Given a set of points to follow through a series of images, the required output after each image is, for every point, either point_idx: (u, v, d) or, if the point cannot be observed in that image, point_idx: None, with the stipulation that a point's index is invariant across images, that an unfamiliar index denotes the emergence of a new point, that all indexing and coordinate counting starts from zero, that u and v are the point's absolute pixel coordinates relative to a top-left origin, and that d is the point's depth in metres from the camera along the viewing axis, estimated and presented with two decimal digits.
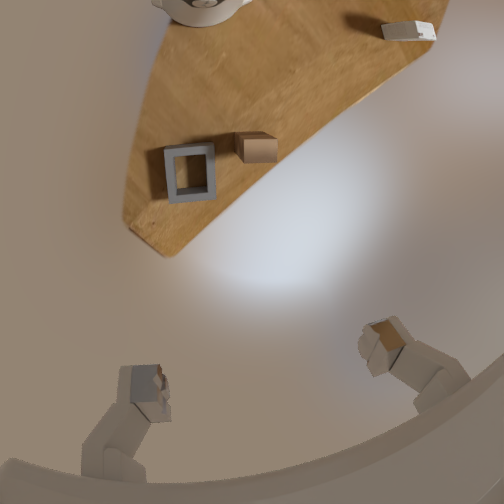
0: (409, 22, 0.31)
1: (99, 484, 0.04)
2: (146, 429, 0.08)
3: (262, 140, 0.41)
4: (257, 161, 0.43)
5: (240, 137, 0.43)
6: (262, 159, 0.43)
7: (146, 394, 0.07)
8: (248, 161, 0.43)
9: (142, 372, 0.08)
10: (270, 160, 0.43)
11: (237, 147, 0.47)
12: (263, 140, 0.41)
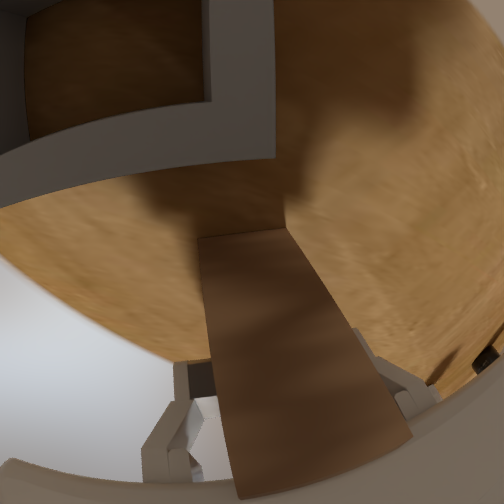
0: None
1: (99, 484, 0.04)
2: (200, 426, 0.08)
3: None
4: None
5: (352, 338, 0.07)
6: None
7: (207, 389, 0.08)
8: (251, 498, 0.04)
9: (199, 367, 0.08)
10: None
11: (246, 282, 0.09)
12: None
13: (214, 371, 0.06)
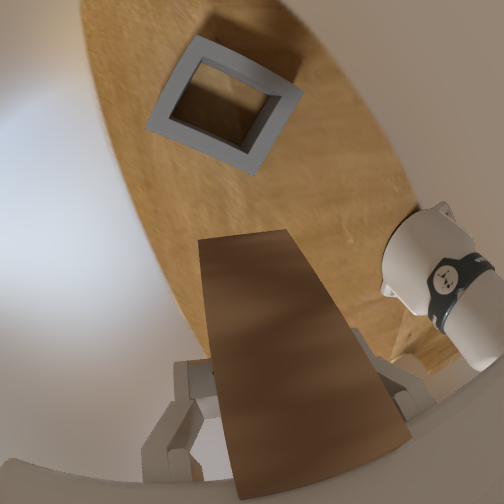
0: None
1: (99, 484, 0.04)
2: (200, 426, 0.08)
3: None
4: None
5: (352, 339, 0.07)
6: None
7: (207, 389, 0.08)
8: (251, 498, 0.04)
9: (199, 367, 0.08)
10: None
11: (246, 283, 0.09)
12: None
13: (215, 372, 0.06)
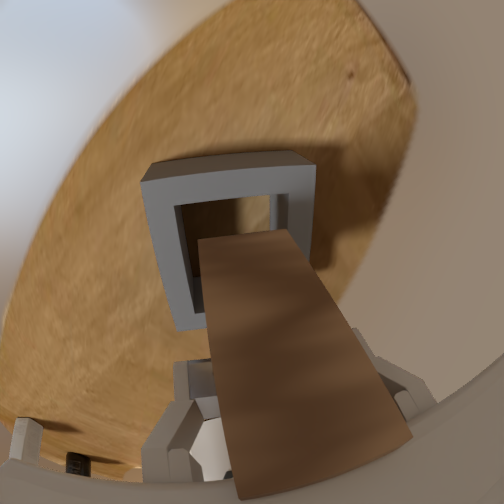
0: None
1: (99, 484, 0.04)
2: (200, 426, 0.08)
3: None
4: None
5: (352, 339, 0.07)
6: None
7: (207, 389, 0.08)
8: (251, 498, 0.04)
9: (199, 367, 0.08)
10: None
11: (246, 283, 0.09)
12: None
13: (214, 372, 0.06)
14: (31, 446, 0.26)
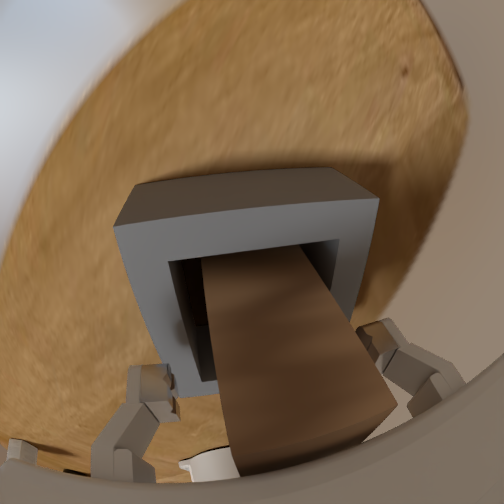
0: None
1: (99, 484, 0.04)
2: (155, 429, 0.08)
3: (356, 444, 0.07)
4: (247, 471, 0.06)
5: (339, 314, 0.08)
6: (259, 473, 0.06)
7: (156, 393, 0.07)
8: (245, 461, 0.05)
9: (151, 371, 0.08)
10: None
11: (242, 266, 0.10)
12: (354, 445, 0.07)
13: (212, 342, 0.07)
14: None
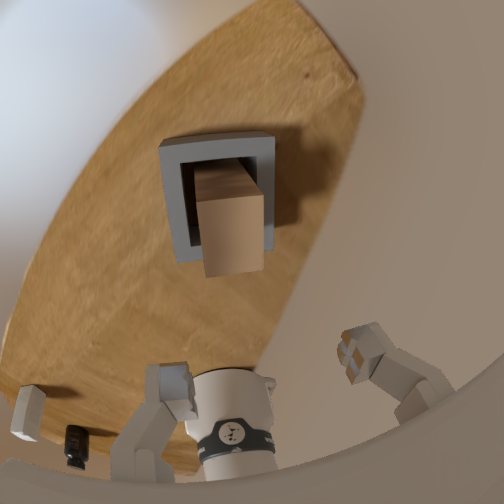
0: (37, 434, 0.30)
1: (99, 484, 0.04)
2: (173, 428, 0.08)
3: (260, 238, 0.18)
4: (203, 234, 0.17)
5: (249, 178, 0.19)
6: (211, 246, 0.17)
7: (176, 392, 0.08)
8: (201, 213, 0.16)
9: (170, 370, 0.08)
10: (209, 263, 0.18)
11: (212, 170, 0.21)
12: (260, 240, 0.18)
13: (195, 184, 0.18)
14: (34, 412, 0.32)
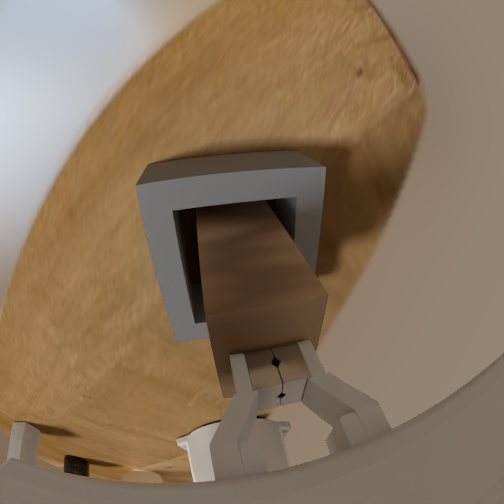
0: None
1: (99, 484, 0.04)
2: (255, 418, 0.08)
3: None
4: (220, 357, 0.09)
5: (291, 243, 0.12)
6: None
7: (269, 378, 0.08)
8: (216, 332, 0.09)
9: (257, 358, 0.09)
10: (229, 385, 0.10)
11: (225, 218, 0.14)
12: None
13: (200, 257, 0.11)
14: (29, 451, 0.25)
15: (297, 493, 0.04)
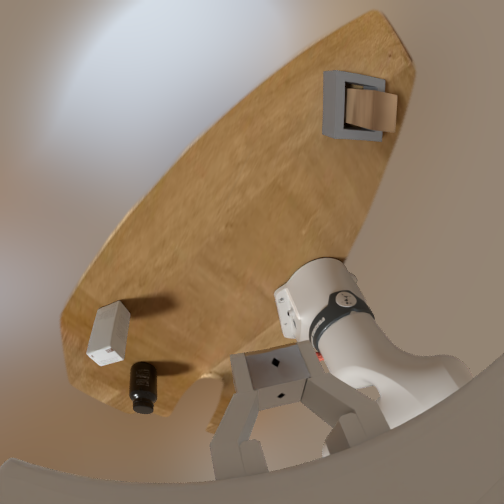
0: (124, 351, 0.41)
1: (99, 484, 0.04)
2: (255, 417, 0.08)
3: (395, 115, 0.30)
4: (375, 106, 0.29)
5: None
6: (377, 112, 0.29)
7: (269, 378, 0.08)
8: (375, 96, 0.28)
9: (257, 358, 0.09)
10: (375, 122, 0.30)
11: None
12: (395, 116, 0.30)
13: (361, 89, 0.30)
14: (120, 327, 0.44)
15: (297, 493, 0.04)
